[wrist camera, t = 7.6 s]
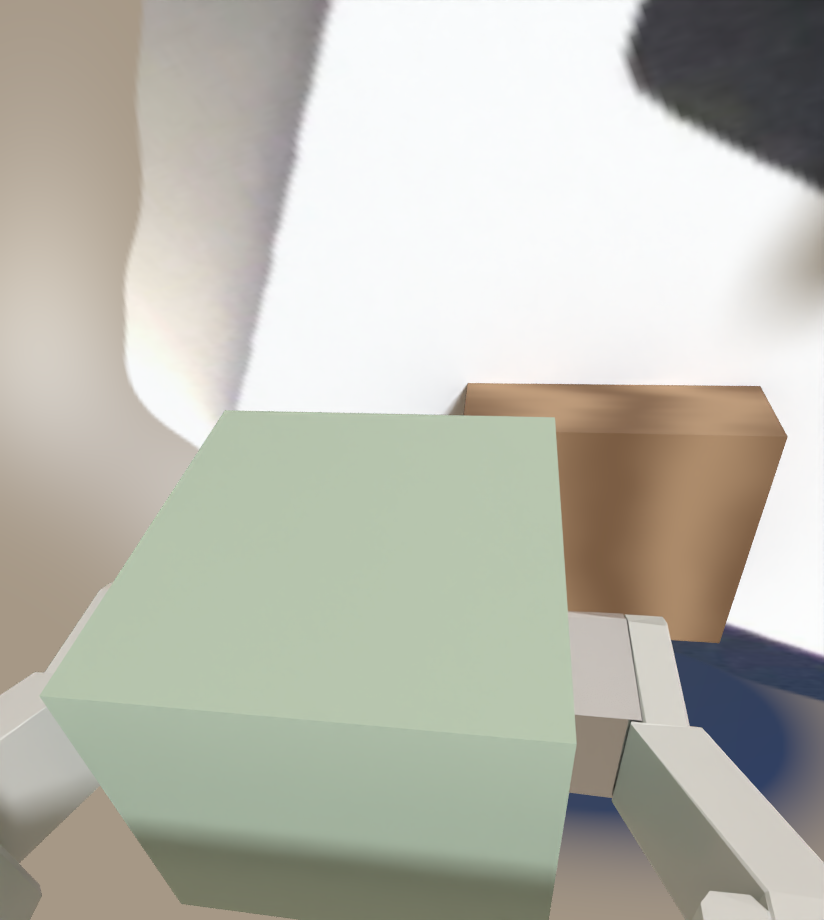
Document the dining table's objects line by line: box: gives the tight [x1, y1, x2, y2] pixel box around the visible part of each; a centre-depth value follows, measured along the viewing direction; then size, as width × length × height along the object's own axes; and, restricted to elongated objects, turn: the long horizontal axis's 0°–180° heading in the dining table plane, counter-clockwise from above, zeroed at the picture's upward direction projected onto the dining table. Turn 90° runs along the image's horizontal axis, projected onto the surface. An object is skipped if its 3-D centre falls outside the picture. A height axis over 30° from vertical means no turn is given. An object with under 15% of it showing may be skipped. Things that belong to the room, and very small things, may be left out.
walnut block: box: [464, 383, 787, 643], centre depth 31 cm, size 12×12×4 cm
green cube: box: [39, 410, 577, 920], centre depth 9 cm, size 5×5×5 cm
